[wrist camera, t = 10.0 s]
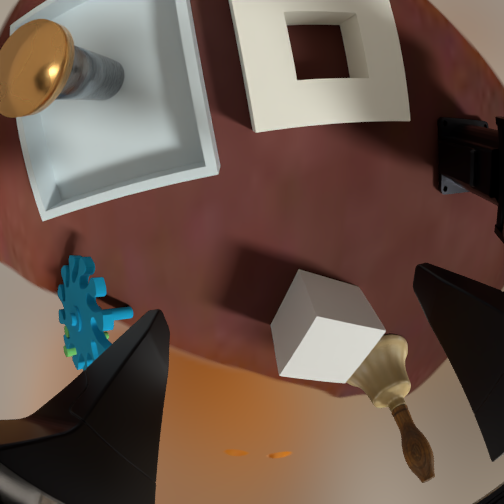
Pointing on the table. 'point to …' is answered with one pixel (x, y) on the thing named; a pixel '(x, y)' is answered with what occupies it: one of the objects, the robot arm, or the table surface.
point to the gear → (85, 312)
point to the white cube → (323, 329)
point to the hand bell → (395, 398)
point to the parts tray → (122, 108)
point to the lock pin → (51, 70)
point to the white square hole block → (320, 90)
